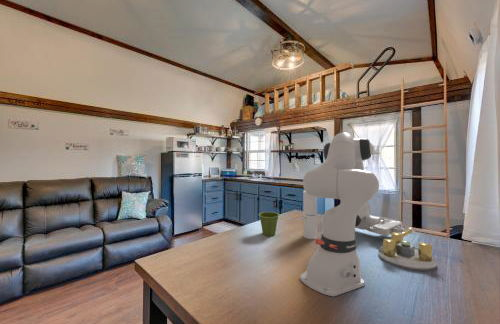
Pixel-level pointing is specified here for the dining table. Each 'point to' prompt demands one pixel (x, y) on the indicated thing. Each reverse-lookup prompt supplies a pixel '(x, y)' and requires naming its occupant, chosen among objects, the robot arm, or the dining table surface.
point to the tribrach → (408, 255)
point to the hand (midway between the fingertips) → (406, 231)
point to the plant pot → (268, 222)
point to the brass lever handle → (401, 235)
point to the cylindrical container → (309, 216)
